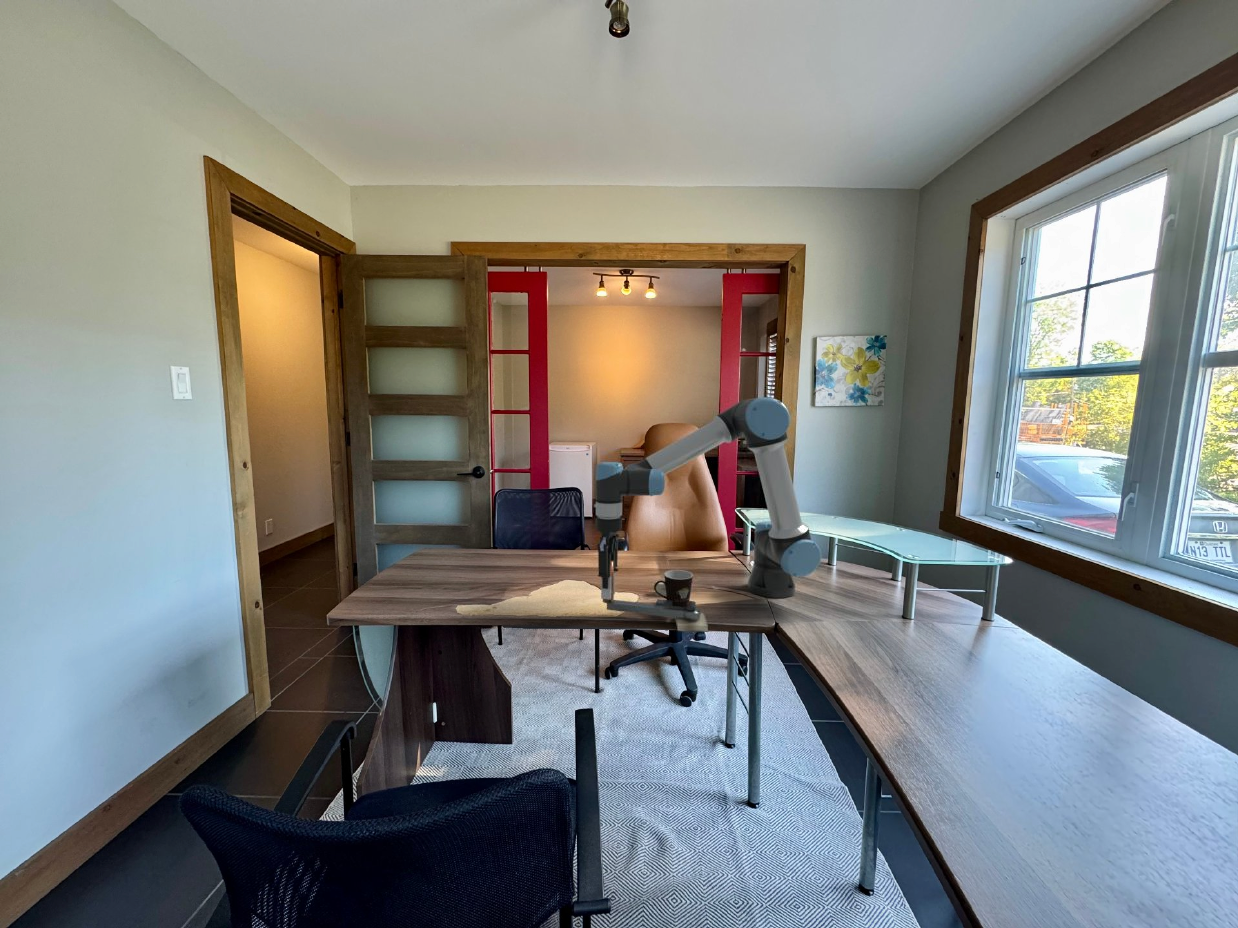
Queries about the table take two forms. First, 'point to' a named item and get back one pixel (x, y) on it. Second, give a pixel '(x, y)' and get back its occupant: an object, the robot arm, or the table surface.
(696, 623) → the pivot pedestal
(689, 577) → the coffee mug
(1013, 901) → the table surface
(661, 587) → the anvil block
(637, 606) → the lever
